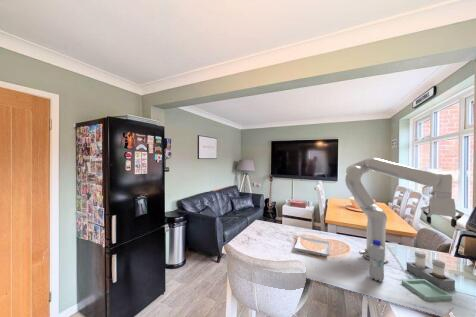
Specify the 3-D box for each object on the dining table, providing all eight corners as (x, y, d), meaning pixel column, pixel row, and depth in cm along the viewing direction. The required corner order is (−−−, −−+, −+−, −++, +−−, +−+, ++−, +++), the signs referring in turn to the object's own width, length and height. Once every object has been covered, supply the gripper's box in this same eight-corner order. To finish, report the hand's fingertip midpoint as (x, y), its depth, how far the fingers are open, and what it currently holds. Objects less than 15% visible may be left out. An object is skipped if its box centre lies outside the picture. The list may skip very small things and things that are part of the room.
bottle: (365, 275, 103) (365, 237, 103) (377, 274, 103) (377, 237, 103) (375, 283, 96) (375, 243, 96) (388, 282, 96) (388, 242, 96)
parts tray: (426, 301, 84) (426, 296, 84) (401, 283, 96) (401, 279, 96) (452, 299, 85) (452, 295, 85) (424, 282, 97) (424, 278, 97)
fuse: (420, 275, 103) (420, 255, 103) (412, 271, 107) (412, 251, 107) (428, 275, 103) (428, 255, 103) (419, 270, 107) (420, 251, 107)
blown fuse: (439, 287, 94) (439, 264, 94) (429, 281, 98) (429, 259, 98) (447, 286, 94) (447, 264, 94) (437, 281, 98) (437, 259, 98)
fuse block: (454, 288, 92) (455, 280, 92) (439, 289, 92) (439, 281, 92) (419, 269, 109) (420, 261, 109) (406, 269, 108) (406, 262, 108)
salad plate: (298, 240, 146) (298, 235, 146) (329, 246, 137) (329, 241, 137) (293, 252, 127) (294, 247, 127) (329, 260, 118) (329, 254, 118)
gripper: (423, 194, 110) (422, 223, 110) (467, 197, 101) (466, 230, 101) (419, 192, 117) (418, 220, 117) (460, 195, 108) (459, 226, 108)
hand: (440, 225), depth 109 cm, fingers open, 9 cm apart
